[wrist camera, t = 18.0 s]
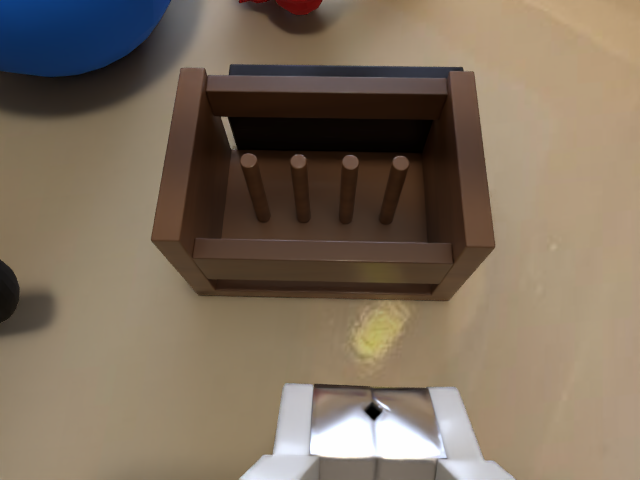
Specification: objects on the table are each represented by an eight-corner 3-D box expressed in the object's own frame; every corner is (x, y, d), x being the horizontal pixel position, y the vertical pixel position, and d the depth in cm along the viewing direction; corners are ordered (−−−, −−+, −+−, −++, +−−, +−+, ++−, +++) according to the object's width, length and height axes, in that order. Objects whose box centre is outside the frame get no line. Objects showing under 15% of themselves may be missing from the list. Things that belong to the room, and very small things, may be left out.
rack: (449, 301, 27) (496, 247, 19) (197, 295, 27) (149, 240, 20) (438, 161, 30) (474, 70, 23) (215, 157, 31) (180, 66, 23)
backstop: (446, 161, 30) (468, 110, 26) (239, 157, 31) (224, 107, 26) (443, 121, 31) (463, 66, 27) (243, 118, 32) (229, 63, 27)
